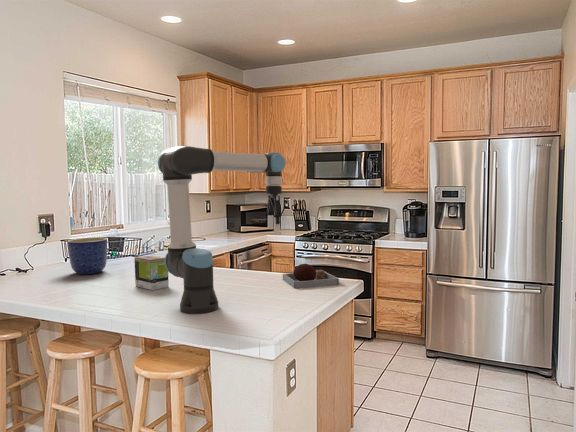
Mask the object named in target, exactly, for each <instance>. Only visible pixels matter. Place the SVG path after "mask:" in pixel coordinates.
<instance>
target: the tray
mask: <svg viewBox="0 0 576 432" xmlns="http://www.w3.org/2000/svg"><path fill="white" fill-rule="evenodd" d="M323 271H324V279H319V280H317V279H314V280H310V281H299V280H297V279H296V278H295V276H294V274H293V272H292V273H282V280H283V282H285V283H286V284H287V285H289V286H290V287H291V288H293V289H306V288H317V287H327V286H338V285H340V281H339V280H340V279H339V278H338V277H337V276H334V275H333V274H330V273H328V272H327V271H325V270H323Z"/></svg>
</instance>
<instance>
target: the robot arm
mask: <svg viewBox="0 0 576 432" xmlns="http://www.w3.org/2000/svg"><path fill="white" fill-rule="evenodd" d="M157 166H158V170H159V171H160V173H161V174H162V181H163V182H164V183H165V184H166V186H167V187H166V188H167V201H168V214H169V231H170V243H169V244H168V245H167V253H166V255H165V256H164V257H165V267H166V269H167V270H168V273H170V274H171V275H173V277H177V278H180V279H183V293H182V296H181V300H180V303H179V310H180V312H182V313H184V314H192V315H193V314H194V315H195V314H206V313H211V312H214V311H216V310H218V309H219V305H220V304H219V300H218V297H217V294H216V291H215V289H214V288H215V287H214V258H213V253H212V252H211V251H210V250H208V249H204V248H198V247H197V245H196V243H195V242H193V237H192V223H191V222H192V221H191V204H190V203H191V201H190V183H191V182H192V181H193V178H192V177H193V175H198V174H199V175H200V174H210V173H212V172H213V171H214V172H215V171H219V172H220V171H221V172H222V171H224V172H246V173H254V174H255V173H256V174H257V173H259V174H260V173H261V174H263V173H264V174H265V185H266V187H265V194H268V195H267V204H266V205H267V206H266V214H267V229H268V230H272V229H273V231H274V232H281V217H282V215H283V214H282V208H281V206H282V205H281V196H280V195H281V194H282V190H283V189H282V188H283V187H282V186H281V185H282V181H283V178H282V174H283V173H282V172H283V170H284V169H285V167H286V159H285V157H283V155H282V154H281V153H279V152H266V154H263V153H262V154H261V153H245V152H244V153H243V152H226V151H213V150H212V149H211V148H201V147H195V146H188V145H181V146H174V147H170V148H167V149H165V150H163V151H162V152H161V153H160V155H159V157H158V159H157ZM278 194H279V195H278Z"/></svg>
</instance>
